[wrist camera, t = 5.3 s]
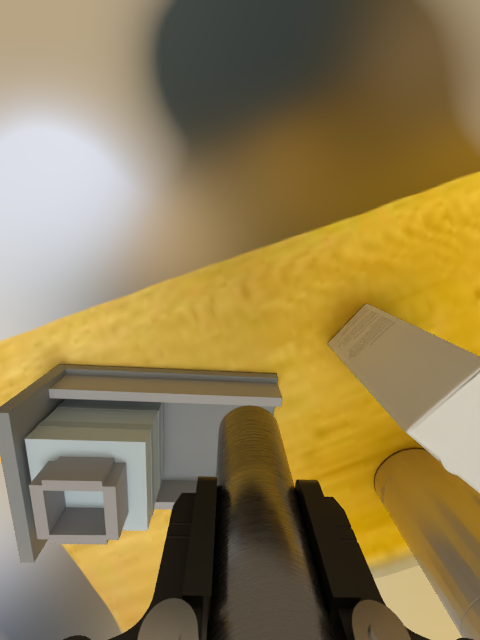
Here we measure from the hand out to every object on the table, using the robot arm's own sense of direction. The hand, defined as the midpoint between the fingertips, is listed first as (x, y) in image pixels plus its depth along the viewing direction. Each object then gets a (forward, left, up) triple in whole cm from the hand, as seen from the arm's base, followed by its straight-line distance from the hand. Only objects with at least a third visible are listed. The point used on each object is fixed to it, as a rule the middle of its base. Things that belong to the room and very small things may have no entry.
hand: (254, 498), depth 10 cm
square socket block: (+13, +13, -20) cm, 27 cm away
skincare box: (-15, +1, -21) cm, 26 cm away
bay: (+7, +13, -21) cm, 26 cm away
